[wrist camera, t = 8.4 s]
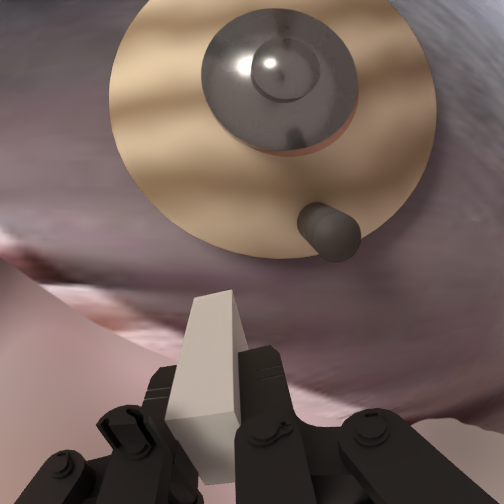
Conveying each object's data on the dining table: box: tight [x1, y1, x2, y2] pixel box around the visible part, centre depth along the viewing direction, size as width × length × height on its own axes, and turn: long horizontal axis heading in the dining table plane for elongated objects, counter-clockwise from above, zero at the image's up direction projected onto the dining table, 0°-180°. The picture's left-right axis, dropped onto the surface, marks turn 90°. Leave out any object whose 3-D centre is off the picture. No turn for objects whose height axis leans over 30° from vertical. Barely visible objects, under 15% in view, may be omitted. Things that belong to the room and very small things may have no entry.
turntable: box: [109, 0, 437, 262], centre depth 19 cm, size 26×26×7 cm
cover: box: [201, 8, 358, 152], centre depth 18 cm, size 10×10×4 cm
